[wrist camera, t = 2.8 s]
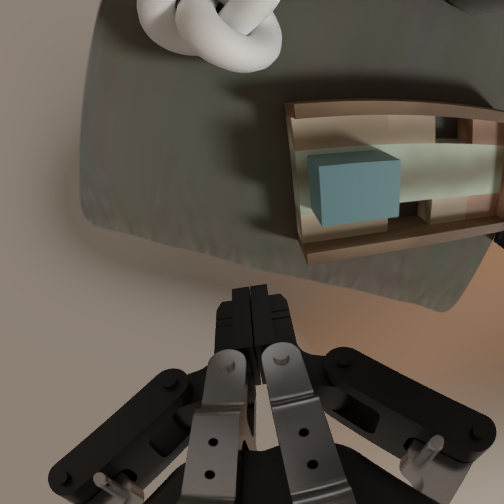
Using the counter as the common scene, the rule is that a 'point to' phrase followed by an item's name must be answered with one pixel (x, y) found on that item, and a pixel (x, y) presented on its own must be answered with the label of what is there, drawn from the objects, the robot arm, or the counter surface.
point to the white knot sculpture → (216, 31)
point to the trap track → (402, 171)
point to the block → (354, 186)
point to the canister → (479, 5)
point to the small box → (499, 238)
